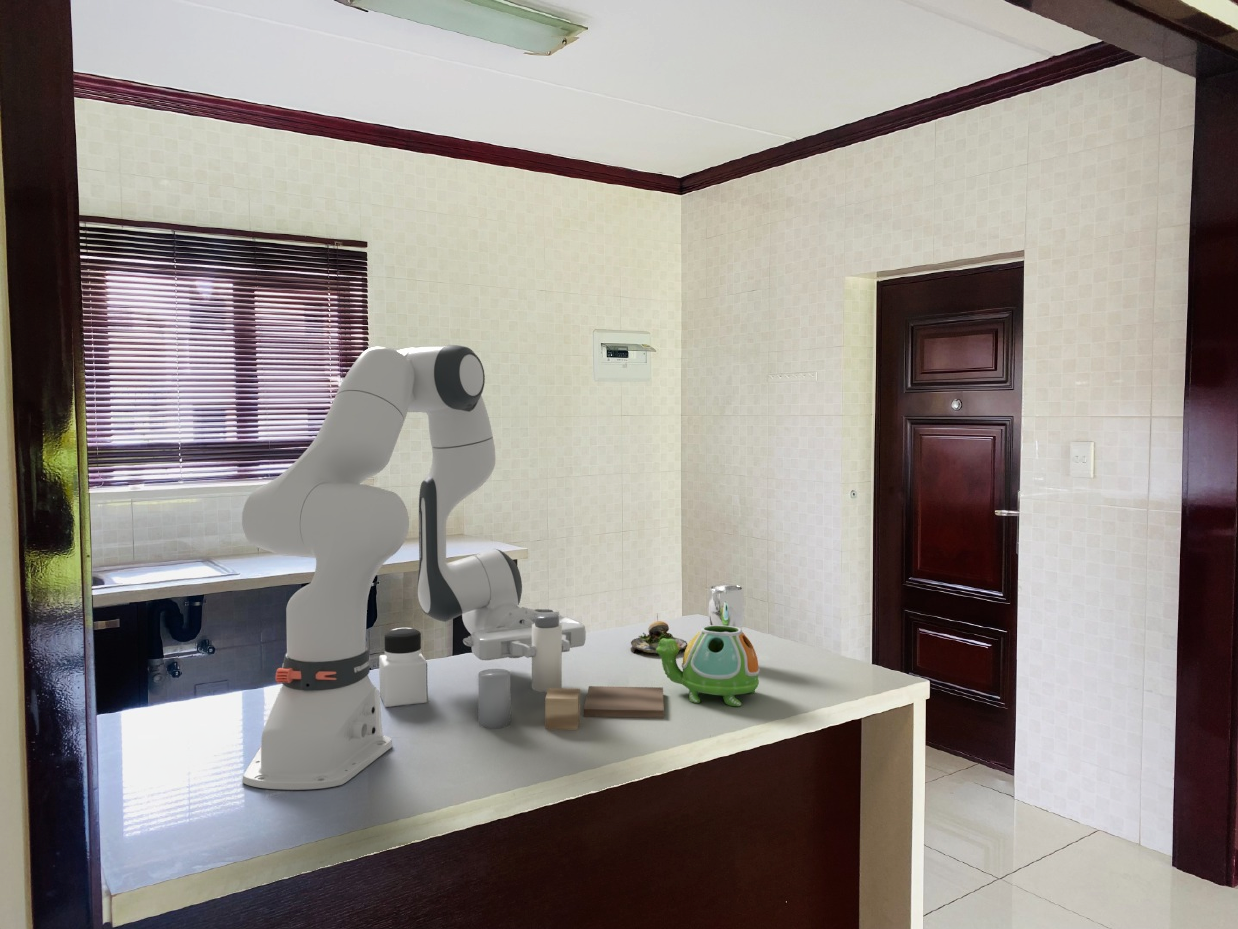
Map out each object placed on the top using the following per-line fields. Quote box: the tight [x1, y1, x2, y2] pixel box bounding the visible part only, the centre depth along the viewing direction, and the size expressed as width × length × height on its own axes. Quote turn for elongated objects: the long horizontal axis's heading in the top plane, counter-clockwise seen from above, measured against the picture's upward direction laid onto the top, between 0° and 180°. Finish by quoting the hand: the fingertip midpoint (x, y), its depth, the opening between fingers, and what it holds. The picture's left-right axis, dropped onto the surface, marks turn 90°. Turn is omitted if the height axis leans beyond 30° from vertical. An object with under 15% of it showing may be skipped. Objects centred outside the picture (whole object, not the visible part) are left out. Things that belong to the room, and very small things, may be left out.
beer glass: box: [708, 583, 745, 633], centre depth 178 cm, size 7×7×15 cm
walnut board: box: [582, 685, 665, 719], centre depth 153 cm, size 12×13×1 cm
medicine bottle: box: [378, 627, 428, 708], centre depth 155 cm, size 7×7×12 cm
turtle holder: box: [656, 624, 761, 707], centre depth 158 cm, size 12×18×12 cm
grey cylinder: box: [477, 668, 511, 729], centre depth 144 cm, size 5×5×8 cm
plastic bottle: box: [531, 614, 563, 693], centre depth 152 cm, size 5×5×12 cm
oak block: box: [544, 687, 581, 731], centre depth 144 cm, size 5×5×5 cm
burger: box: [630, 614, 688, 654], centre depth 187 cm, size 12×12×8 cm
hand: (549, 649), depth 151 cm, fingers closed on plastic bottle, 5 cm apart
